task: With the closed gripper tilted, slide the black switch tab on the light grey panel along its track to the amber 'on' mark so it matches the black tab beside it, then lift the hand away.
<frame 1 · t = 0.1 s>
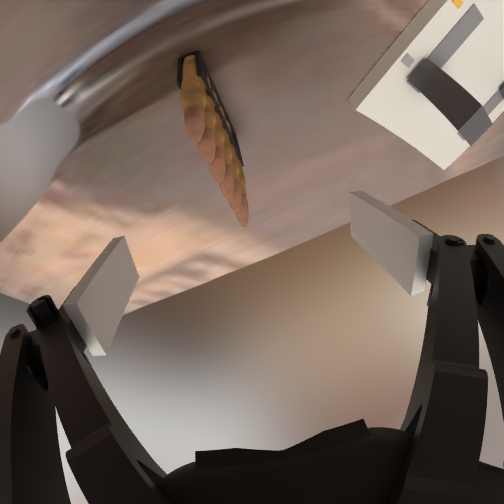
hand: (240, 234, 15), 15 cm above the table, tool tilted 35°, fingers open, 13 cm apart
switch panel: (461, 71, 20), on the table
ammunition clip: (209, 98, 23), on the table
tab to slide: (450, 99, 17), point 7 cm above the table, slide at 0.0 cm
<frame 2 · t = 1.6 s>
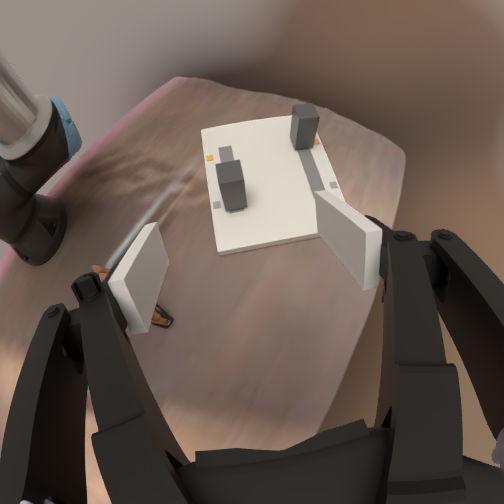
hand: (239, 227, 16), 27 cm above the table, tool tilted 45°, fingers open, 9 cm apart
switch panel: (270, 176, 49), on the table
ammunition clip: (147, 303, 42), on the table
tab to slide: (232, 186, 41), point 7 cm above the table, slide at 0.0 cm
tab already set: (303, 127, 44), point 7 cm above the table, slide at 10.0 cm
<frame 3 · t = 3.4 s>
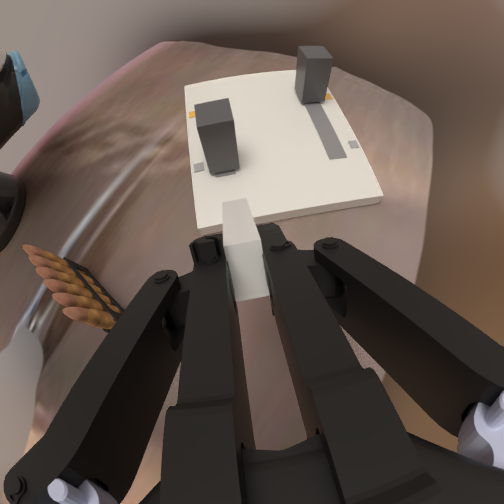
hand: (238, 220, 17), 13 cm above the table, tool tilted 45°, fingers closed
switch panel: (270, 135, 36), on the table
ammunition clip: (106, 300, 30), on the table
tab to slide: (218, 137, 28), point 7 cm above the table, slide at 0.0 cm
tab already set: (312, 74, 31), point 7 cm above the table, slide at 10.0 cm
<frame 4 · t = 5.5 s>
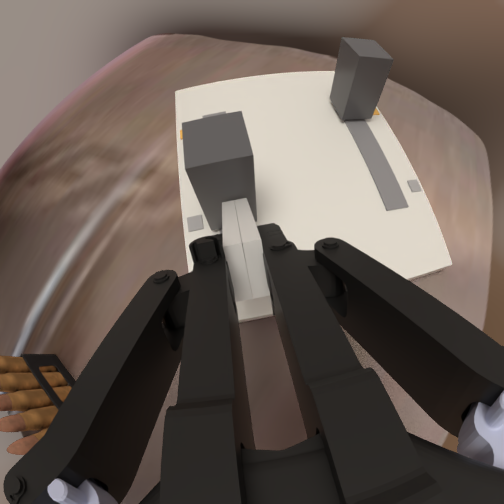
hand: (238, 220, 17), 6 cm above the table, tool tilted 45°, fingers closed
switch panel: (298, 166, 25), on the table
ammunition clip: (84, 400, 19), on the table
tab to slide: (223, 177, 18), point 7 cm above the table, slide at 0.6 cm, touching gripper
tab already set: (358, 79, 21), point 7 cm above the table, slide at 10.0 cm
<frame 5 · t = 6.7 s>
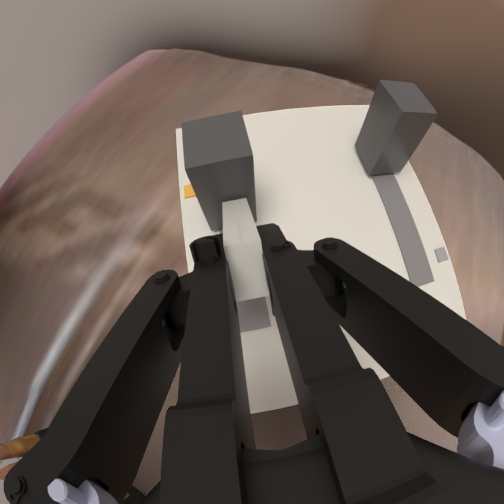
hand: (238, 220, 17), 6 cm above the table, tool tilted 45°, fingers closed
switch panel: (319, 231, 23), on the table
ammunition clip: (101, 465, 17), on the table
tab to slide: (223, 177, 18), point 7 cm above the table, slide at 7.5 cm, touching gripper
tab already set: (392, 130, 19), point 7 cm above the table, slide at 10.0 cm
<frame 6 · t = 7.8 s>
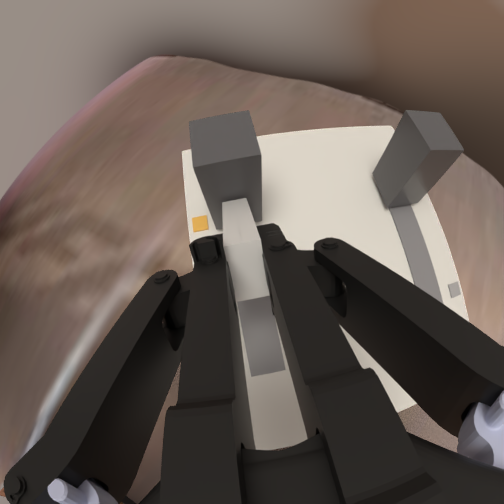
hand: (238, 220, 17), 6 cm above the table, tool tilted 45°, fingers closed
switch panel: (334, 266, 22), on the table
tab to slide: (230, 176, 18), point 7 cm above the table, slide at 10.7 cm, touching gripper
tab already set: (414, 162, 18), point 7 cm above the table, slide at 10.0 cm
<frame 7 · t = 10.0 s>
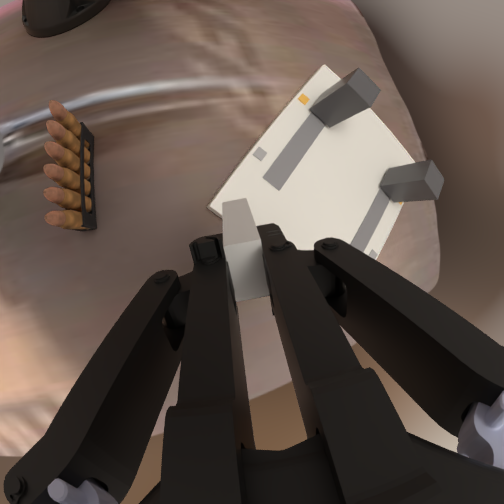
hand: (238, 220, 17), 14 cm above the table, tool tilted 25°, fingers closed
switch panel: (333, 180, 35), on the table
ammunition clip: (86, 182, 26), on the table
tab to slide: (343, 99, 27), point 7 cm above the table, slide at 10.7 cm
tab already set: (411, 182, 31), point 7 cm above the table, slide at 10.0 cm
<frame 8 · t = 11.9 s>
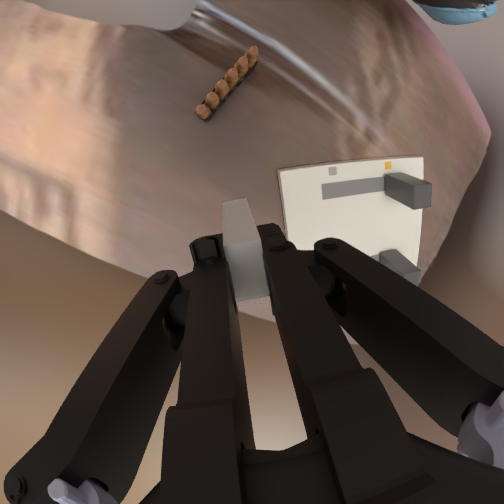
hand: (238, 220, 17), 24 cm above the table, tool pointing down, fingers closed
switch panel: (358, 222, 45), on the table
ammunition clip: (225, 91, 34), on the table
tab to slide: (407, 189, 36), point 7 cm above the table, slide at 10.7 cm
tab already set: (398, 270, 43), point 7 cm above the table, slide at 10.0 cm
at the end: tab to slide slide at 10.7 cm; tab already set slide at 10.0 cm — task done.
